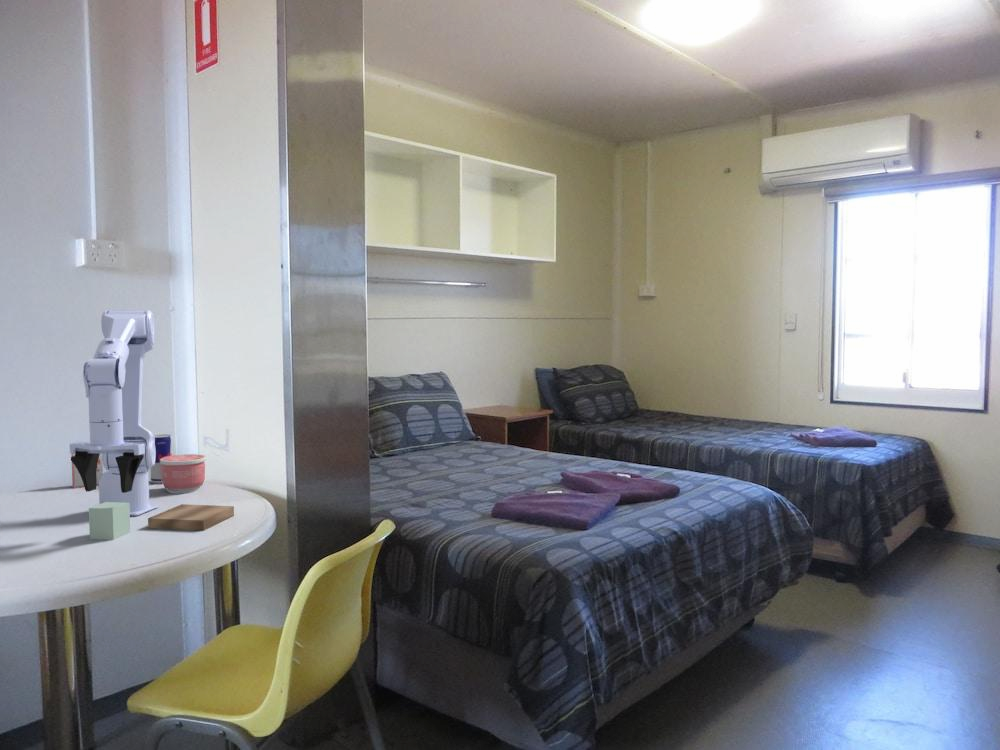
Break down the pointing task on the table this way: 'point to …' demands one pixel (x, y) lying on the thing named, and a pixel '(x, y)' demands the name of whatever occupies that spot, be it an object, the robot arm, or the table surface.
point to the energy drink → (160, 456)
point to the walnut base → (191, 517)
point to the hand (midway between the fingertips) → (108, 491)
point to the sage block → (109, 520)
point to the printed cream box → (77, 478)
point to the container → (183, 472)
